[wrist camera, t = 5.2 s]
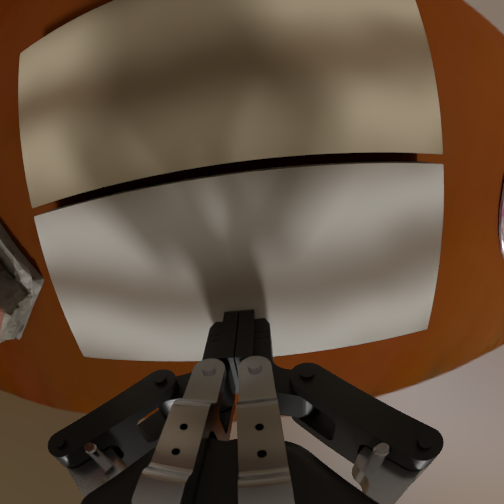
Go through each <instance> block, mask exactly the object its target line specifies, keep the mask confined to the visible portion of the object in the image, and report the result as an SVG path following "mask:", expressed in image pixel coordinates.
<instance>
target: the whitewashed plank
mask: <svg viewBox="0 0 504 504" xmlns="http://www.w3.org/2000/svg"><path fill="white" fill-rule="evenodd" d="M443 205H444V171H443V164H438V163H430V162H420V161H366V162H339V163H321V164H306V165H293V166H282V167H272V168H262V169H253V170H245V171H237V172H229V173H222V174H215V175H208V176H202V177H195V178H189V179H183V180H177V181H172V182H166V183H161V184H156V185H151V186H146V187H141V188H136V189H131V190H127V191H122V192H118V193H113V194H109V195H105V196H101V197H97V198H93V199H89V200H85V201H81V202H77V203H73V204H70V205H66V206H63V207H59V208H56V209H53V210H50V211H48V212H45V213H42V214H40V215H37V216H35V217H34V219H35V223H36V228H37V232H38V236H39V240H40V243H41V247H42V251H43V254H44V258H45V261H46V264H47V267H48V271H49V274H50V277H51V280H52V283H53V285H54V288H55V291H56V294H57V296H58V299H59V302H60V304H61V307H62V309H63V312H64V314H65V317H66V319H67V321H68V324H69V326H70V328H71V330H72V333H73V335H74V337H75V339H76V341H77V343H78V345H79V348H80V350H81V352H82V354H83V356H84V357H93V358H105V359H119V360H140V361H202V358H203V354H204V350H205V346H206V342H207V338H208V333H209V329H210V327H211V326H212V325H213V324H214V323H215V322H223V317H224V312H228V311H239V312H240V310H251V309H254V311H255V318H256V319H260V318H266V320H267V321H268V322H269V323H270V330H271V340H272V351H273V356H282V355H291V354H299V353H307V352H315V351H322V350H328V349H335V348H341V347H347V346H352V345H358V344H363V343H368V342H373V341H378V340H383V339H388V338H392V337H397V336H401V335H405V334H409V333H413V332H417V331H421V330H425V329H427V327H428V323H429V319H430V314H431V309H432V304H433V299H434V293H435V288H436V281H437V275H438V267H439V260H440V251H441V240H442V227H443Z"/></svg>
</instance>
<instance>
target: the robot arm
mask: <svg viewBox="0 0 504 504" xmlns="http://www.w3.org/2000/svg"><path fill="white" fill-rule="evenodd" d="M235 393H239V402H237V437H238V439H234V440H230V433H231V428H232V423H233V417H234V412H235V402H234V401H235ZM157 407H158V408H159V410H158V411H157V412H155V413H154V414H153V415H151V416H150V417H148V418H147V419H146V420H144V421H143V422H141V423H140V424H138V425H137V423H138V421H139V420H140V419H142V418H143V417H145V416H146V415H148V414H149V413H150V412H152V411H153V410H155V409H156V408H157ZM280 415H286V416H292V419H293V420H294V421H295V422H296V423H298V424H299V425H300V426H301V427H303V428H304V429H305V430H307V431H308V432H309V433H311V434H312V435H313V436H315V437H316V438H317V439H319V440H320V441H322V442H323V443H324V444H326V445H327V446H328V447H330V448H331V449H333V450H334V451H336V452H337V453H339V454H340V455H341V456H343V457H344V458H346V459H347V460H349V461H351V462H352V463H353V464H354V466H353V468H352V476H353V478H354V479H355V481H357V482H358V483H359V484H360V486H361V488H362V491H363V492H362V491H360V490H359V489H357V488H356V487H354V486H353V485H352V484H350V483H349V482H347V481H346V480H345V479H343V478H342V477H341V476H340V475H338V474H337V473H335V472H334V471H333V470H331V469H330V468H329V467H328V466H327V465H325V464H324V463H323V462H322V461H320V460H319V459H318V458H317V457H315V456H314V455H313V454H312V453H310V452H309V451H308V450H306V449H305V448H303V447H301V446H299V445H297V444H294V443H291V442H287V441H284V436H283V430H282V424H281V417H280ZM442 447H443V438H442V436H441V434H440V433H439V431H437V430H436V429H434V428H432V427H430V426H428V425H426V424H424V423H422V422H420V421H418V420H416V419H414V418H412V417H410V416H408V415H406V414H404V413H402V412H400V411H398V410H396V409H394V408H393V407H391V406H389V405H387V404H385V403H383V402H381V401H380V400H378V399H376V398H374V397H372V396H371V395H369V394H367V393H365V392H363V391H362V390H360V389H358V388H356V387H355V386H353V385H351V384H349V383H348V382H346V381H344V380H342V379H341V378H339V377H337V376H336V375H334V374H332V373H331V372H329V371H327V370H326V369H324V368H322V367H321V366H319V365H317V364H314V363H302V364H299V365H297V366H295V367H294V368H293V369H292V370H288V369H283V368H280V367H278V366H277V365H275V364H274V362H273V351H272V340H271V330H270V323H269V322H268V321H267V320H266V318H260V319H256V318H255V311H254V309H251V310H240V312H239V311H228V312H224V317H223V322H215V323H214V324H213V325H212V326H211V327H210V329H209V333H208V338H207V342H206V346H205V350H204V354H203V358H202V361H200V362H198V363H197V364H196V365H195V366H194V368H193V371H192V372H191V373H189V374H185V375H181V376H177V377H175V374H174V373H173V372H171V371H169V370H158V371H155V372H153V373H151V374H150V375H148V376H147V377H145V378H144V379H142V380H141V381H139V382H138V383H136V384H134V385H133V386H131V387H130V388H128V389H127V390H125V391H124V392H122V393H121V394H119V395H117V396H116V397H114V398H113V399H111V400H110V401H108V402H106V403H105V404H103V405H102V406H100V407H98V408H97V409H95V410H94V411H92V412H90V413H89V414H87V415H86V416H84V417H82V418H80V419H79V420H77V421H76V422H74V423H72V424H70V425H69V426H67V427H65V428H64V429H62V430H60V431H59V432H57V433H55V434H54V435H53V436H52V437H51V438H50V440H49V442H48V449H49V452H50V453H51V454H52V455H53V456H54V457H55V458H56V459H57V460H58V461H59V462H61V464H62V465H63V466H64V467H65V468H67V469H68V471H69V473H70V474H71V476H72V478H73V479H74V481H75V483H76V484H77V486H78V488H79V489H80V491H81V493H82V494H83V496H84V499H83V500H82V502H81V504H395V503H396V501H397V500H398V499H399V498H400V497H401V495H402V494H403V493H404V492H405V491H406V489H407V488H408V487H409V486H410V485H411V484H412V483H413V482H414V481H415V480H416V478H418V477H419V476H420V474H421V473H422V472H423V471H424V470H425V469H426V468H427V467H428V466H429V464H431V462H432V461H433V460H434V459H435V458H436V457H437V455H438V454H439V453H440V451H441V450H442Z"/></svg>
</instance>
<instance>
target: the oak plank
mask: <svg viewBox="0 0 504 504" xmlns="http://www.w3.org/2000/svg"><path fill="white" fill-rule="evenodd" d="M18 99H19V124H20V137H21V146H22V155H23V162H24V169H25V175H26V180H27V186H28V191H29V196H30V200H31V205H32V208H35V207H38V206H41V205H44V204H47V203H50V202H53V201H56V200H60V199H63V198H66V197H70V196H73V195H77V194H80V193H84V192H87V191H91V190H95V189H99V188H103V187H106V186H110V185H115V184H119V183H123V182H127V181H132V180H136V179H141V178H145V177H150V176H155V175H160V174H165V173H170V172H176V171H181V170H187V169H193V168H199V167H205V166H211V165H218V164H225V163H232V162H240V161H248V160H257V159H266V158H276V157H287V156H300V155H314V154H333V153H366V152H397V153H429V154H443V147H442V130H441V118H440V108H439V100H438V93H437V86H436V80H435V74H434V69H433V64H432V59H431V54H430V50H429V46H428V41H427V38H426V34H425V30H424V27H423V23H422V20H421V17H420V13H419V10H418V7H417V4H416V1H415V0H114V1H111V2H109V3H107V4H104V5H102V6H100V7H98V8H96V9H94V10H91V11H89V12H87V13H85V14H83V15H81V16H79V17H77V18H76V19H74V20H72V21H70V22H68V23H66V24H65V25H63V26H61V27H59V28H58V29H56V30H54V31H53V32H51V33H50V34H48V35H46V36H45V37H43V38H42V39H40V40H39V41H37V42H36V43H34V44H33V45H31V46H30V47H28V48H27V49H26V50H24V51H23V52H22V53H20V62H19V86H18Z"/></svg>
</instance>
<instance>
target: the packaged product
mask: <svg viewBox="0 0 504 504" xmlns="http://www.w3.org/2000/svg"><path fill="white" fill-rule="evenodd" d="M43 282H44V278H43V277H42V276H41V275H40V274H39V273H38V271H37V270H36V269H35V268H34V267H33V266H32V265H31V263H30V262H29V261H28V260H27V259H26V257H25V256H24V255H23V254H22V253H21V251H20V250H19V249H18V247H17V246H16V245H15V243H14V242H13V240H12V239H11V238H10V236H9V235H8V233H7V232H6V230H5V229H4V227H3V226H2V225H1V223H0V343H1V342H3V341H4V340H9V339H14V338H15V337H16V338H17V339H18V340H19V339H20V338H21V336H22V333H23V331H24V329H25V326H26V324H27V322H28V319H29V316H30V313H31V311H32V307H33V305H34V303H35V301H36V299H37V296H38V294H39V292H40V289H41V287H42V285H43Z"/></svg>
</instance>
